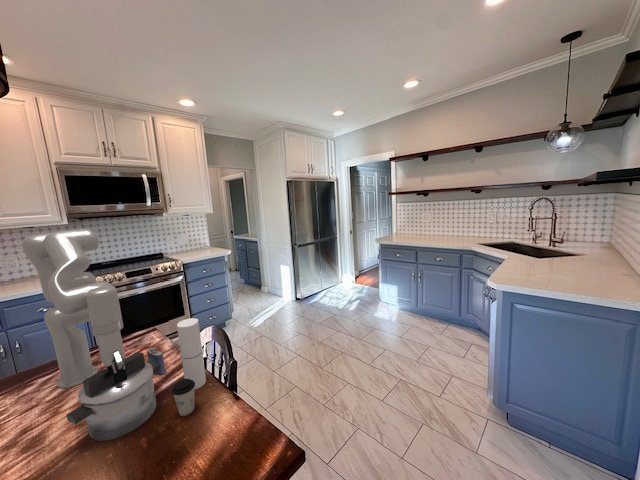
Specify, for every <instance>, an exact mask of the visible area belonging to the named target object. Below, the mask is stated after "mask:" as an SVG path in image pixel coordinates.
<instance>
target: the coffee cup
mask: <svg viewBox="0 0 640 480" xmlns="http://www.w3.org/2000/svg"><path fill="white" fill-rule="evenodd" d="M195 391H196V389H195V382H194V381H193V380H190V379H184V378H182V379H181V380H179V381H178V382H176V383H175V384H174V385H173V387H172V390H171V394H172V395H173V397H174V402H175V405H176V407H177V410H178V413H179V414H178V415H180V416H182V417H184V416H188V415H190V414H191V413H193V411H194V410H195V394H196V393H195Z"/></svg>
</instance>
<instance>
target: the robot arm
mask: <svg viewBox="0 0 640 480" xmlns="http://www.w3.org/2000/svg"><path fill="white" fill-rule="evenodd" d="M99 246H100V240H99V236H98V235H97V234H96V232H95V231H93V230H92V229H89V228H80V229H71V230H70V229H69V230H60V231H59V230H58V231H55V232H47V233H46V232H45V233H39V234H33V235H29V236H27V237H24V239H23V240H22V242H21V248H22V250H23V253H24V256H26V258H27V259H28V260H29V262H30V263H31V264H32V265H33V266H34V268H35V269H36V272H37V275H38V278H39V283H40V287H41V290H42V293H43V296H44V298H45V300H46V301H47V302H49V303H52V304H54V307H51V308H50V309H48V310H47V311H45V314H44V317H43V318H44V322H45V325H46V327H47V328H48V331H49V333H50V336H51V339H52V343H53V347H54V352H55V356H56V360H57V365H58V370H59V374H60V378H58V380H57V381H56V386H57V388H59V389H68V388H72V387H77V386H79V385H81V384H83V380H85V379H87V378H89V377H91V376H93V375H95V374H97V373H98V372H99V368H98V366H96V365H93V363H92V358H91V353H90V352H91V351H90V349H89V342H88V339H87V335H86V332H85V331H84V330H83V329H80V328H78V327H77V326H79V325H82V324H85V323H87V322H89V323H90V326H91V331H92V336H93V337H96V338H97V339H96V340H97V344H98V345H97V346H98V353H99V358H100V360H101V362H102V364H103V365H104V366H105V367H106V368H108V367H110V366H112V368H113V378H114V383H115V385H117V384H119V383H121V382H123V381H125V380H127V374H126V368H125V366H124V363H123V360H124V359H125V358H126V356H125V350H124V343H123V338H122V334H121V330H123V328H124V323H123V317H122V311H121V305H120V300H119V294H118V290H117V288H116V287H115V286H113V284H111V283H110V282H108V281H99V282H98V280H97V278H96V276H95V275H94V274H93V273H91V272H88V271H87V269H89V267H90V264H91V261H90V258H89V257H88V255H87V254H86V252H91V251H96V250H97V249H98V248H99ZM115 364H117V366H116V367H115ZM106 368H105V369H106Z"/></svg>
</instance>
